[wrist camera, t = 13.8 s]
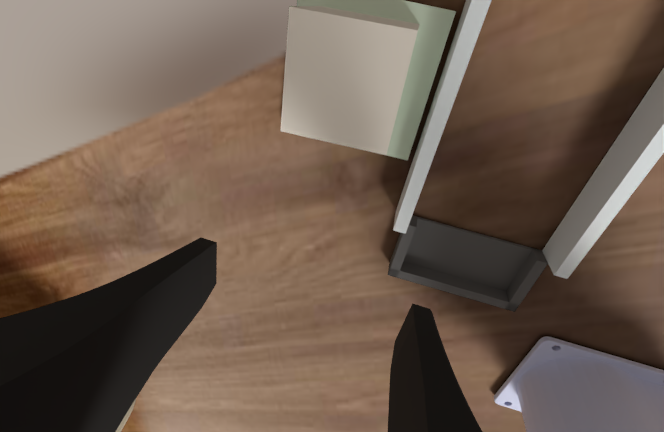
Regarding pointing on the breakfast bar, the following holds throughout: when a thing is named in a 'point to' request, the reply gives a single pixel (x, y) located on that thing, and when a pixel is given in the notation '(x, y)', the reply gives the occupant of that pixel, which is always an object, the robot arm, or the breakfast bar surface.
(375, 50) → the block
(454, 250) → the tray
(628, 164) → the white bars
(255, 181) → the breakfast bar surface
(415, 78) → the pad
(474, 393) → the breakfast bar surface
